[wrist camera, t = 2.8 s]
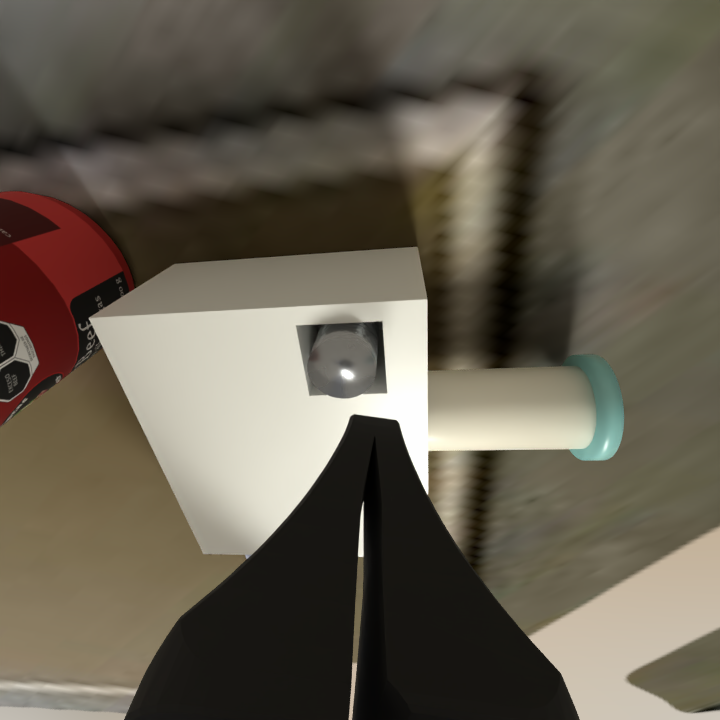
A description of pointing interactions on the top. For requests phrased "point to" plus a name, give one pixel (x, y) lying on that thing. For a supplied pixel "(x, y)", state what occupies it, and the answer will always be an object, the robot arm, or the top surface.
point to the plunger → (344, 358)
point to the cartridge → (528, 408)
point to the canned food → (50, 293)
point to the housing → (263, 378)
